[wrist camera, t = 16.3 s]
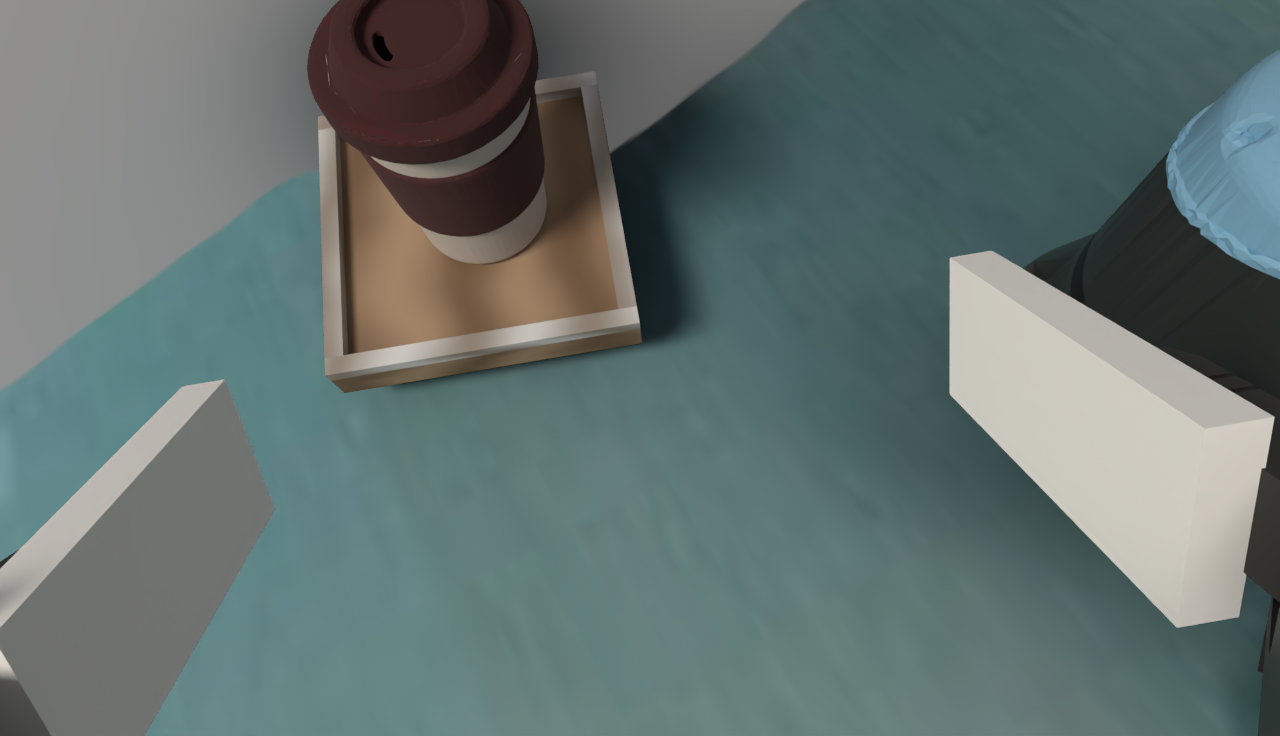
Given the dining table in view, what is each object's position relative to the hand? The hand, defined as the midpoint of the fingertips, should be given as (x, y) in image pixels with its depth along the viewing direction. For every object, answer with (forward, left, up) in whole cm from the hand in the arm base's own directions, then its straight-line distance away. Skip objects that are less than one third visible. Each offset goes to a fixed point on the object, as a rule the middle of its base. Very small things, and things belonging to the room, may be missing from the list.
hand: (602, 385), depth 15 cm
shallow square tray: (+7, -22, -33) cm, 40 cm away
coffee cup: (+6, -22, -28) cm, 36 cm away
